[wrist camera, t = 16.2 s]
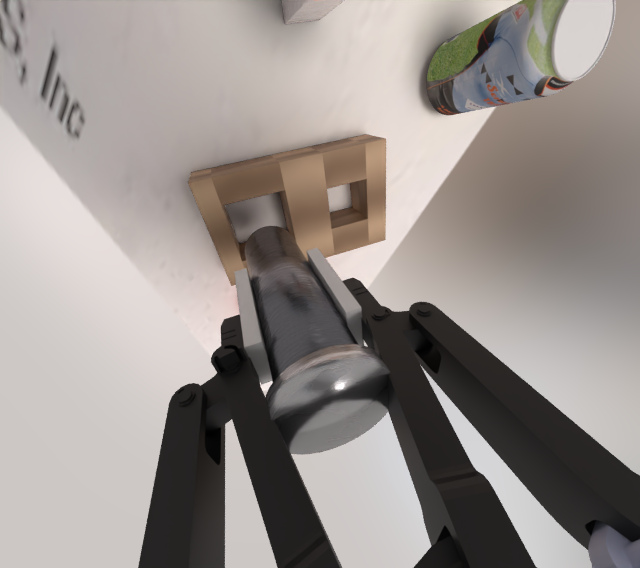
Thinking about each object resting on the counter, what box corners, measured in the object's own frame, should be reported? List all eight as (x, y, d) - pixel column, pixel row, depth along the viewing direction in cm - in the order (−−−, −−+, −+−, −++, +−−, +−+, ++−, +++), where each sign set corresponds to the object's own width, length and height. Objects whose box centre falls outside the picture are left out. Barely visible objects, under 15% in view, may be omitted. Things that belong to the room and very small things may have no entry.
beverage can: (415, 117, 27) (521, 125, 18) (426, 18, 23) (572, -41, 14) (465, 111, 29) (589, 115, 19) (485, 16, 25) (655, -38, 15)
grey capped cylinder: (228, 229, 19) (250, 402, 8) (295, 212, 20) (400, 346, 9) (249, 285, 22) (286, 469, 11) (307, 268, 23) (396, 421, 12)
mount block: (191, 172, 24) (188, 182, 21) (365, 134, 27) (386, 138, 24) (229, 266, 30) (231, 285, 27) (368, 226, 33) (385, 239, 30)
